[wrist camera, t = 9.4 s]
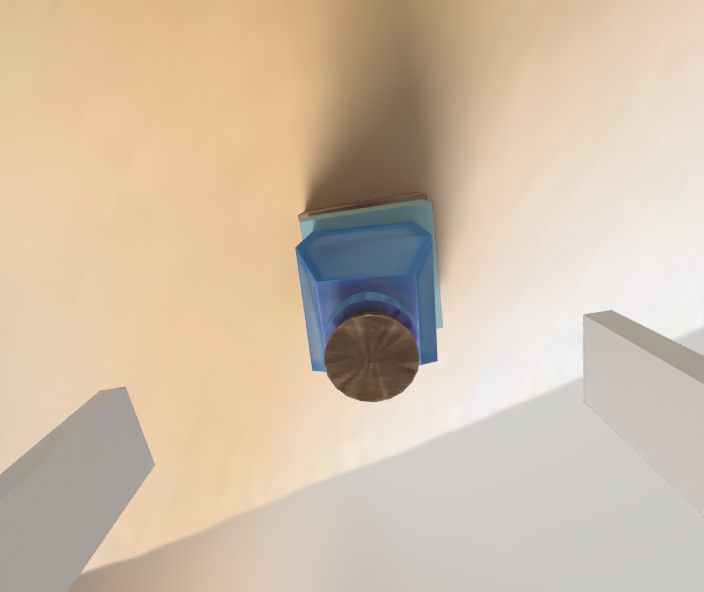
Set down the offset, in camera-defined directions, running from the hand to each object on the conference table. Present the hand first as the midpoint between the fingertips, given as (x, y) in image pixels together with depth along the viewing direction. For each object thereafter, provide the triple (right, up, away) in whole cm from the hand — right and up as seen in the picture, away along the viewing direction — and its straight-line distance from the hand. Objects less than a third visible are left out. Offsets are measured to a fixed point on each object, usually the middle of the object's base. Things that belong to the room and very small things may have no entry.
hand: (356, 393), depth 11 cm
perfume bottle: (+1, +4, +13) cm, 14 cm away
